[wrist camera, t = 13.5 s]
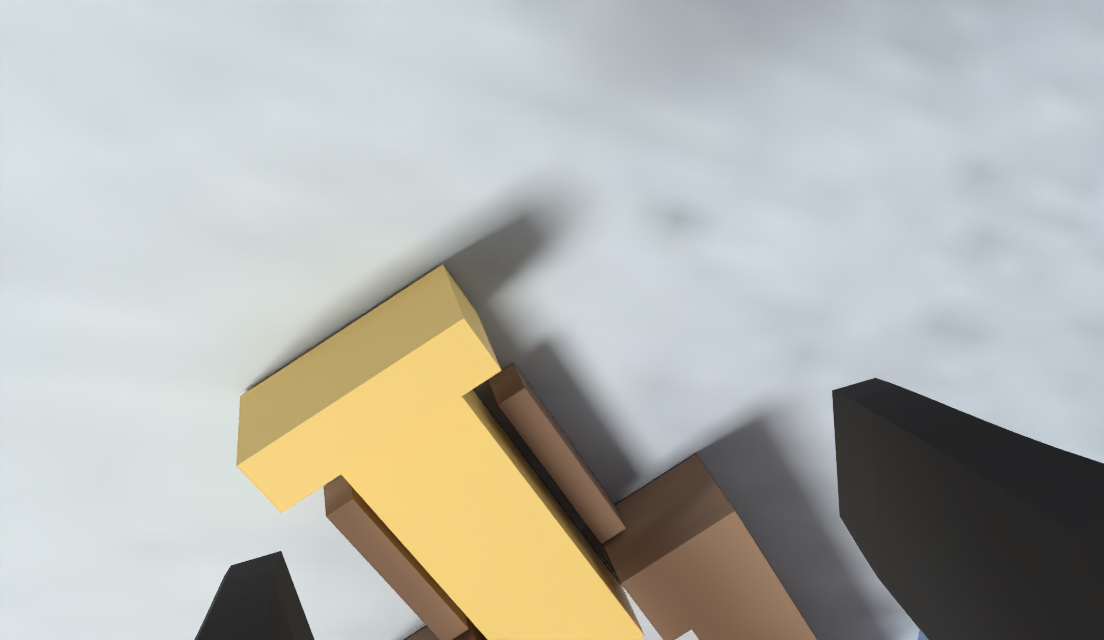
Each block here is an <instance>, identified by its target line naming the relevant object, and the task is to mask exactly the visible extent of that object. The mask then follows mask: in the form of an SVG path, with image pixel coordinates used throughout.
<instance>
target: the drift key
mask: <svg viewBox="0 0 1104 640" xmlns="http://www.w3.org/2000/svg"><path fill="white" fill-rule="evenodd" d="M500 371H501V368H500V365H499V363H498V361H497V358H496V356H495V354H494V351H493V349H492V347H491V344H490V342H489V340H488V337H487V335H486V333H485V330H484V328H483V325H482V323H481V321H480V318H479V316H478V314H477V312H476V310H475V309H474V308H473V306H472V305H471V303H470V302H469V301H468V299H467V298H466V296H465V295H464V294H463V292H462V291H461V289H460V288H459V287H458V285H457V284H456V282H455V281H454V280H453V278H452V277H451V275H450V274H449V273H448V271H447V270H446V268H445V267H444V266H443V264H442V265H441V266H439V267H438V268H436V269H435V270H433V271H431V272H430V273H428V274H427V275H425V276H424V277H422V278H421V279H419V280H418V281H416V282H415V283H413V284H412V285H410V286H408V287H407V288H405V289H404V290H402V291H401V292H399V293H398V294H396V295H395V296H393V297H392V298H390V299H389V300H387V301H386V302H384V303H382V304H381V305H379V306H378V307H376V308H375V309H373V310H372V311H370V312H369V313H367V314H366V315H364V316H363V317H361V318H359V319H358V320H356V321H355V322H353V323H352V324H350V325H349V326H347V327H346V328H344V329H343V330H341V331H340V332H338V333H336V334H335V335H333V336H332V337H330V338H329V339H327V340H326V341H324V342H323V343H321V344H320V345H318V346H317V347H315V348H314V349H312V350H310V351H309V352H307V353H306V354H304V355H303V356H301V357H300V358H298V359H297V360H295V361H294V362H292V363H291V364H289V365H287V366H286V367H284V368H283V369H281V370H280V371H278V372H277V373H275V374H274V375H272V376H271V377H269V378H268V379H266V380H265V381H263V382H261V383H260V384H258V385H257V386H255V387H254V388H252V389H251V390H249V391H248V392H246V393H245V394H243V395H242V396H240V410H239V428H238V447H237V465H236V466H237V467H238V468H239V469H240V470H241V471H242V472H243V473H244V474H245V475H246V477H247V478H248V479H249V480H250V481H251V482H252V483H253V484H254V485H255V486H256V487H257V488H258V489H259V490H260V491H261V492H262V493H263V494H264V495H265V496H266V498H267V499H268V500H269V501H270V502H271V503H272V504H273V505H274V506H275V507H276V508H277V509H278V510H279V511H280V512H281V513H282V512H284V511H285V510H287V509H288V508H290V507H292V506H293V505H295V504H296V503H298V502H299V501H301V500H302V499H304V498H305V497H307V496H309V495H310V494H312V493H313V492H315V491H316V490H318V489H319V488H321V487H322V486H324V485H326V484H327V483H329V482H330V481H332V480H333V479H335V478H336V477H338V476H339V475H342V476H343V477H344V478H345V479H346V480H347V481H348V483H349V484H350V485H351V486H352V487H353V488H354V489H355V490H356V492H357V493H358V494H359V495H360V496H361V497H362V498H363V499H364V501H365V502H366V503H367V504H368V505H369V506H370V507H371V509H372V510H373V511H374V512H375V513H376V514H377V515H378V516H379V518H380V519H381V520H382V521H383V522H384V523H385V524H386V525H387V527H388V528H389V529H390V530H391V531H392V532H393V533H394V534H395V536H396V537H397V538H398V539H399V540H400V541H401V542H402V544H403V545H404V546H405V547H406V548H407V549H408V550H409V551H410V553H411V554H412V555H413V556H414V557H415V558H416V559H417V560H418V562H419V563H420V564H421V565H422V566H423V567H424V568H425V569H426V571H427V572H428V573H429V574H430V575H431V576H432V577H433V578H434V580H435V581H436V582H437V583H438V584H439V585H440V586H441V588H442V589H443V590H444V591H445V592H446V593H447V594H448V595H449V597H450V598H451V599H452V600H453V601H454V602H455V603H456V604H457V606H458V607H459V608H460V609H461V610H462V611H463V612H464V613H465V615H466V616H467V617H468V618H469V619H470V620H471V621H472V622H473V624H474V625H475V626H476V627H477V628H478V629H479V630H480V632H481V633H482V634H483V635H484V636H485V637H486V638H487V639H488V640H639V639H641V638H643V637H644V636H645V635H644V633H643V631H642V629H641V627H640V625H639V622H638V620H637V618H636V616H635V614H634V612H633V609H632V607H631V605H630V603H629V601H628V599H627V597H626V594H625V592H624V590H623V588H622V587H621V586H620V584H619V583H618V582H617V580H616V579H615V578H614V576H613V575H612V574H611V572H610V571H609V570H608V568H607V567H606V566H605V565H604V563H603V562H602V561H601V559H600V558H599V557H598V555H597V554H596V553H595V551H594V550H593V549H592V547H591V546H590V545H589V543H588V542H587V541H586V539H585V538H584V537H583V535H582V534H581V533H580V531H579V530H578V529H577V527H576V526H575V525H574V523H573V522H572V521H571V519H570V518H569V517H568V515H567V514H566V513H565V511H564V510H563V509H562V507H561V506H560V505H559V503H558V502H557V501H556V499H555V498H554V497H553V495H552V494H551V493H550V491H549V490H548V489H547V488H546V486H545V485H544V484H543V482H542V481H541V480H540V478H539V477H538V476H537V474H536V473H535V472H534V470H533V469H532V468H531V466H530V465H529V464H528V462H527V461H526V460H525V458H524V457H523V456H522V454H521V453H520V452H519V450H518V449H517V448H516V446H515V445H514V444H513V442H512V441H511V440H510V438H509V437H508V436H507V434H506V433H505V432H504V430H503V429H502V428H501V426H500V425H499V424H498V422H497V421H496V420H495V418H494V417H493V416H492V414H491V413H490V412H489V411H488V409H487V408H486V407H485V405H484V404H483V403H482V401H481V400H480V399H479V397H478V396H477V395H476V393H475V392H474V391H473V389H474V388H475V387H477V386H478V385H480V384H481V383H483V382H484V381H486V380H488V379H489V378H491V377H492V376H494V375H495V374H497V373H498V372H500Z"/></svg>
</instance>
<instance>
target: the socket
mask: <svg viewBox="0 0 1104 640" xmlns="http://www.w3.org/2000/svg"><path fill="white" fill-rule="evenodd" d="M488 381H489V384H490V386H491V389H492V391H493V394H494V396H495V399H496V401H497V404H498V406H499V407H500V409H501V410H502V411H503V413H504V414H505V415H506V417H507V418H508V419H509V421H510V422H511V423H512V425H513V426H514V427H515V429H516V430H517V431H518V433H519V434H520V435H521V437H522V438H523V439H524V441H525V442H526V444H527V445H528V446H529V448H530V449H531V450H532V452H533V453H534V454H535V456H536V457H537V458H538V460H539V461H540V462H541V464H542V465H543V466H544V468H545V469H546V470H547V472H548V473H549V474H550V476H551V477H552V478H553V480H554V481H555V482H556V484H557V485H558V487H559V488H560V489H561V491H562V492H563V493H564V495H565V496H566V497H567V499H568V500H569V501H570V503H571V504H572V505H573V507H574V508H575V509H576V511H577V512H578V513H579V515H580V516H581V517H582V519H583V520H584V521H585V523H586V524H587V525H588V527H589V528H590V529H591V531H592V532H593V534H594V535H595V536H596V538H597V539H598V540H599V542H600V543H601V544H602V543H603V546H604V548H605V550H606V552H607V554H608V556H609V558H610V561H611V563H612V565H613V567H614V569H615V571H616V574H617V576H618V578H619V580H620V582H621V584H622V585H623V587H624V588H625V589H626V591H627V592H628V593H629V595H630V596H631V597H632V599H633V600H634V601H635V603H636V604H637V605H638V607H639V608H640V609H641V611H642V612H643V613H644V615H645V616H646V617H647V619H648V620H649V621H650V623H651V624H652V625H653V627H654V628H655V629H656V631H657V632H658V633H659V635H660V636H661V637H662V639H663V640H675V639H677V638H678V637H680V636H682V635H683V634H685V633H686V632H688V631H689V630H691V629H692V630H693V632H694V633H695V634H696V636H697V637H698V639H699V640H817V639H816V638H815V636H814V634H813V633H812V631H811V630H810V628H809V627H808V625H807V623H806V622H805V620H804V619H803V617H802V616H801V614H800V612H799V611H798V609H797V608H796V606H795V605H794V603H793V601H792V600H791V598H790V597H789V595H788V593H787V592H786V590H785V589H784V587H783V586H782V584H781V582H780V581H779V579H778V578H777V576H776V575H775V573H774V571H773V570H772V568H771V567H770V565H769V564H768V562H767V560H766V559H765V557H764V556H763V554H762V552H761V551H760V549H759V548H758V546H757V545H756V543H755V541H754V540H753V538H752V537H751V535H750V534H749V532H748V530H747V529H746V527H745V526H744V524H743V522H742V521H741V519H740V518H739V516H738V515H737V513H736V511H735V510H734V508H733V507H732V506H731V504H730V503H729V501H728V500H727V498H726V497H725V495H724V494H723V492H722V491H721V489H720V488H719V486H718V485H717V483H716V482H715V480H714V479H713V478H712V476H711V475H710V473H709V472H708V470H707V469H706V467H705V466H704V464H703V463H702V461H701V460H700V458H699V457H698V455H697V454H695V455H693V456H692V457H690V458H688V459H687V460H685V461H684V462H682V463H681V464H679V465H678V466H676V467H674V468H673V469H671V470H670V471H668V472H667V473H665V474H663V475H662V476H660V477H659V478H657V479H656V480H654V481H653V482H651V483H649V484H648V485H646V486H645V487H643V488H642V489H640V490H638V491H637V492H635V493H634V494H632V495H631V496H629V497H628V498H626V499H624V500H623V501H621V502H620V503H618V504H617V505H615V506H614V504H613V502H612V500H611V499H610V497H609V496H608V494H607V493H606V492H605V490H604V489H603V487H602V486H601V485H600V483H599V482H598V480H597V479H596V478H595V476H594V475H593V473H592V472H591V471H590V469H589V468H588V466H587V465H586V464H585V462H584V461H583V459H582V458H581V457H580V455H579V454H578V452H577V451H576V450H575V448H574V447H573V445H572V444H571V443H570V441H569V440H568V438H567V437H566V436H565V434H564V433H563V431H562V430H561V429H560V427H559V426H558V424H557V423H556V422H555V420H554V419H553V417H552V416H551V415H550V413H549V412H548V410H547V409H546V408H545V406H544V405H543V403H542V402H541V401H540V399H539V398H538V396H537V395H536V394H535V392H534V391H533V389H532V388H531V387H530V385H529V384H528V382H527V381H526V380H525V378H524V377H523V375H522V374H521V373H520V371H519V370H518V368H517V367H516V366H515V364H514V363H513V364H512V365H510V366H508V367H507V368H505V369H504V370H502V371H501V372H499V373H498V374H496V375H495V376H493V377H492V378H490V379H488ZM324 496H325V508H326V517H327V518H328V519H329V520H330V521H331V522H332V523H333V524H334V525H335V527H336V528H337V529H338V530H339V531H340V532H341V533H342V534H343V535H344V536H345V537H346V538H347V540H348V541H349V542H350V543H351V544H352V545H353V546H354V547H355V548H356V549H357V550H358V551H359V553H360V554H361V555H362V556H363V557H364V558H365V559H366V560H367V561H368V562H369V563H370V564H371V566H372V567H373V568H374V569H375V570H376V571H377V572H378V573H379V574H380V575H381V576H382V577H383V579H384V580H385V581H386V582H387V583H388V584H389V585H390V586H391V587H392V588H393V589H394V590H395V592H396V593H397V594H398V595H399V596H400V597H401V598H402V599H403V600H404V601H405V602H406V603H407V605H408V606H409V607H410V608H411V609H412V610H413V611H414V612H415V613H416V614H417V615H418V616H419V618H420V619H421V620H422V621H423V622H424V623H425V624H426V625H427V626H426V627H425V628H423V629H421V630H420V631H418V632H417V633H415V634H414V635H412V636H411V637H409V638H407V639H406V640H488V639H487V638H486V637H485V636H484V635H483V634H482V633H481V632H480V630H479V629H478V628H477V627H476V626H475V625H474V624H473V622H472V621H471V620H470V619H469V618H468V617H467V616H466V615H465V613H464V612H463V611H462V610H461V609H460V608H459V607H458V606H457V604H456V603H455V602H454V601H453V600H452V599H451V598H450V597H449V595H448V594H447V593H446V592H445V591H444V590H443V589H442V588H441V586H440V585H439V584H438V583H437V582H436V581H435V580H434V578H433V577H432V576H431V575H430V574H429V573H428V572H427V571H426V569H425V568H424V567H423V566H422V565H421V564H420V563H419V562H418V560H417V559H416V558H415V557H414V556H413V555H412V554H411V553H410V551H409V550H408V549H407V548H406V547H405V546H404V545H403V544H402V542H401V541H400V540H399V539H398V538H397V537H396V536H395V534H394V533H393V532H392V531H391V530H390V529H389V528H388V527H387V525H386V524H385V523H384V522H383V521H382V520H381V519H380V518H379V516H378V515H377V514H376V513H375V512H374V511H373V510H372V509H371V507H370V506H369V505H368V504H367V503H366V502H365V501H364V499H363V498H362V497H361V496H360V495H359V494H358V493H357V492H356V490H355V489H354V488H353V487H352V486H351V485H350V484H349V483H348V481H347V480H346V479H345V478H344V477H343V476H342V475H340V476H339V477H337V478H336V479H334V480H333V481H331V482H329V483H328V484H326V485H325V486H324Z"/></svg>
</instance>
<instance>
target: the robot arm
mask: <svg viewBox="0 0 1104 640" xmlns="http://www.w3.org/2000/svg"><path fill="white" fill-rule="evenodd" d="M832 396H833V413H834V429H835V445H836V462H837V478H838V494H839V511H840V517H841V519H842V520H843V522H844V524H845V525H846V527H847V529H848V530H849V532H850V534H851V535H852V537H853V539H854V540H855V542H856V544H857V545H858V547H859V549H860V550H861V552H862V553H863V555H864V557H865V558H866V560H867V561H868V563H869V564H870V566H871V567H872V569H873V571H874V572H875V574H876V575H877V577H878V578H879V579H880V581H881V582H882V583H883V585H884V586H885V587H886V588H887V590H888V591H889V592H890V593H891V594H892V596H893V597H894V598H895V599H896V601H897V602H898V603H899V604H900V605H901V607H902V608H903V609H904V610H905V612H906V613H907V614H908V615H909V616H910V618H911V619H912V620H913V621H914V623H915V624H916V625H917V626H918V627H919V629H920V630H921V631H922V632H923V633H924V635H925V636H926V637H927V638H928V639H929V640H1104V464H1103V463H1100V462H1097V461H1094V460H1091V459H1088V458H1085V457H1082V456H1079V455H1076V454H1073V453H1070V452H1067V451H1064V450H1061V449H1058V448H1055V447H1053V446H1050V445H1047V444H1044V443H1042V442H1039V441H1036V440H1033V439H1031V438H1028V437H1025V436H1023V435H1020V434H1017V433H1015V432H1012V431H1009V430H1007V429H1004V428H1002V427H999V426H997V425H994V424H992V423H989V422H987V421H984V420H982V419H979V418H977V417H974V416H972V415H969V414H967V413H964V412H962V411H959V410H957V409H954V408H952V407H950V406H947V405H945V404H942V403H940V402H937V401H935V400H932V399H930V398H927V397H925V396H923V395H920V394H918V393H915V392H913V391H910V390H907V389H905V388H902V387H900V386H897V385H894V384H892V383H889V382H886V381H883V380H880V379H877V378H874V379H870V380H867V381H863V382H860V383H856V384H853V385H849V386H846V387H843V388H839V389H836V390H832ZM195 640H314V637H313V635H312V632H311V629H310V627H309V624H308V621H307V619H306V616H305V613H304V611H303V608H302V605H301V603H300V600H299V597H298V595H297V592H296V589H295V587H294V584H293V581H292V579H291V576H290V573H289V571H288V568H287V565H286V563H285V560H284V557H283V555H282V552H281V551H279V552H276V553H273V554H269V555H266V556H262V557H259V558H255V559H252V560H249V561H245V562H242V563H238V564H235V565H231V566H230V568H229V569H228V571H227V573H226V574H225V576H224V578H223V580H222V582H221V584H220V586H219V589H218V591H217V593H216V595H215V597H214V600H213V602H212V604H211V606H210V608H209V610H208V613H207V615H206V617H205V619H204V621H203V623H202V625H201V627H200V630H199V632H198V634H197V636H196V638H195Z"/></svg>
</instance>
